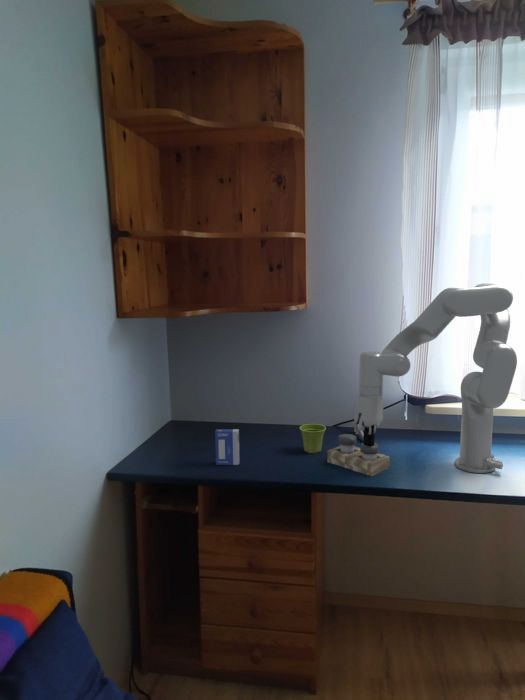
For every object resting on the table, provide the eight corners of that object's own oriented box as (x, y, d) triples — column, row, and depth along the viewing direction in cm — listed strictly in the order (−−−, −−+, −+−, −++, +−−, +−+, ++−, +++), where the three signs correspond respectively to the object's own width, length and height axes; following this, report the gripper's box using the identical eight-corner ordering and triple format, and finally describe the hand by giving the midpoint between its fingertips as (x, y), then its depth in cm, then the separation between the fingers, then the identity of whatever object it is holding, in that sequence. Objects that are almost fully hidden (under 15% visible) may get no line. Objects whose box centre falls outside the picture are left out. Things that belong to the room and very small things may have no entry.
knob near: (382, 463, 175) (382, 445, 174) (371, 468, 171) (371, 449, 170) (367, 459, 179) (367, 440, 178) (356, 463, 175) (356, 445, 174)
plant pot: (326, 455, 188) (326, 431, 187) (299, 454, 189) (299, 431, 187) (325, 446, 197) (325, 424, 196) (299, 446, 198) (300, 423, 197)
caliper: (354, 433, 214) (354, 418, 213) (356, 433, 214) (357, 418, 213) (369, 450, 193) (370, 433, 193) (372, 450, 194) (373, 433, 193)
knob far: (359, 454, 181) (360, 436, 180) (348, 459, 177) (349, 440, 176) (345, 450, 186) (345, 432, 185) (334, 454, 182) (334, 436, 181)
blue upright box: (215, 465, 180) (215, 430, 178) (216, 462, 182) (215, 428, 181) (239, 465, 180) (238, 430, 178) (239, 462, 182) (239, 428, 180)
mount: (389, 468, 176) (389, 456, 175) (371, 476, 169) (371, 464, 168) (345, 454, 188) (345, 443, 188) (327, 461, 182) (327, 450, 181)
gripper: (374, 384, 179) (372, 437, 182) (346, 391, 169) (345, 447, 172) (393, 388, 174) (391, 442, 177) (366, 396, 164) (364, 453, 166)
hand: (368, 444), depth 174 cm, fingers closed
